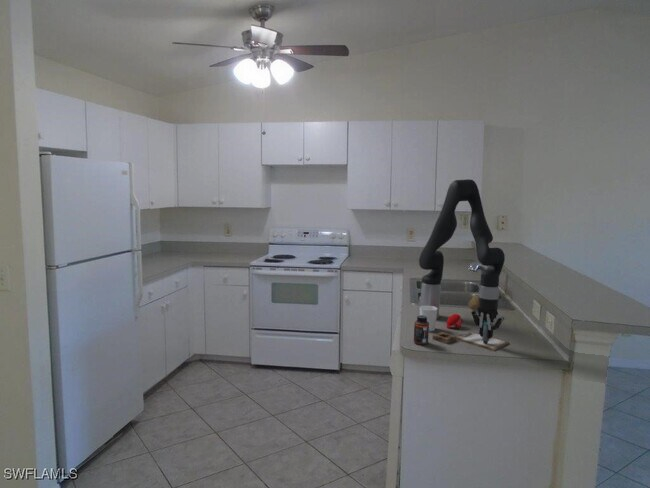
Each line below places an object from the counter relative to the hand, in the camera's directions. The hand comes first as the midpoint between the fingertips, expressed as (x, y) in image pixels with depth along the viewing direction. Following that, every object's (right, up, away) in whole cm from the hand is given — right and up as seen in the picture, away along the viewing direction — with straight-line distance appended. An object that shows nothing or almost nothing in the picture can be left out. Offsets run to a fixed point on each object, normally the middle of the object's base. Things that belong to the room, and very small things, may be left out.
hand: (485, 337), depth 181 cm
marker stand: (-16, -2, +6) cm, 17 cm away
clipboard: (0, -3, +5) cm, 6 cm away
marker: (0, -2, 0) cm, 2 cm away
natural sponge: (+12, +2, +45) cm, 46 cm away
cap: (-6, -1, +23) cm, 24 cm away
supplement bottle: (-26, -3, +2) cm, 27 cm away
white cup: (-20, -1, +20) cm, 28 cm away
